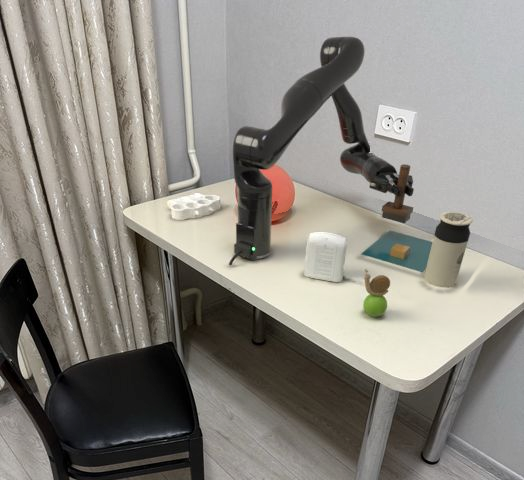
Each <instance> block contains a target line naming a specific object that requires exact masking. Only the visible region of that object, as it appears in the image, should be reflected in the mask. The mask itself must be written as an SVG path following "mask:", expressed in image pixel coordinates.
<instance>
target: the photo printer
mask: <svg viewBox="0 0 524 480" xmlns="http://www.w3.org/2000/svg"><path fill="white" fill-rule="evenodd" d="M347 250H348V243H347V238H345V237H344V236H342V235H340V234H336V233H333V232H327V231H316V232H315V231H314V232H310V233H309V235H308V237H307V239H306V250H305V259H304V270H303V274H304V276H305V277H307V278H311V279H317V280H321V281H327V282H332V283H341V282H342V280H343V277H344V271H345V264H346V256H347Z"/></svg>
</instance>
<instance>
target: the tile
mask: <svg viewBox="0 0 524 480" xmlns="http://www.w3.org/2000/svg"><path fill="white" fill-rule="evenodd" d="M432 242H433V241H431V240H427V239H424V238H419V237H416V236H412V235H408V234H405V233H402V232H397V231H393V230H390V229H389V230H388V231H386V233H384V234H383V235H382V236H381V237H379V238H378V239H377V240H376V241H374V242H373V243H372V244H370V246H369V247H367V248H366V249H365V250H364V251H363V252H362V253H361V255H363V256H366V257H369V258H371V259H376V260H379V261H382V262H386V263H390V264H392V265H395V266H399V267H402V268H406V269H409V270H412V271H416V272H420V273H425V271H426V267H427V263H428V259H429V255H430V251H431V246H432ZM396 244H401V245H405V246H408V247H410V251H409V254H408V255H407V256H406V257H405V258H404V259H400V258H397V257H394V256H390V253H391V248H392V247H393V246H395V245H396Z"/></svg>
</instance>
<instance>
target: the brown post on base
mask: <svg viewBox="0 0 524 480" xmlns="http://www.w3.org/2000/svg"><path fill="white" fill-rule="evenodd" d="M410 171H411V165H410V164H401V165H400V167H399V173H398V175H399V178H398V183H397V186H399V187H400V188H401V189H402V190H403V192H402V196H401V197H398V196H396V195H394V199H393V201H394V202H393V201H390V200H389V201H387V202H386V203H384V204H383V205H382V207H381V212H382V215H381V218H382V219H386V220H390V221H394V222H398V223H401V224H406V223H407V222H409V220H410V219H411V215H412V213H413V212H414V207H413V206H411V205H410V206H409V205H405V204H404V201H405V198H406V197H405V196H406V194H405V192H406V187H407V182H408V177H409V175H410Z"/></svg>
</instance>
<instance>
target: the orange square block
mask: <svg viewBox="0 0 524 480" xmlns="http://www.w3.org/2000/svg"><path fill="white" fill-rule="evenodd" d="M409 251H410V247H408V246H405V245H401V244H396V245H395V246H393V247H392V248H391V253H390V256H394V257H397V258H400V259H404V258H405V257H406V256H407V255H408V254H409Z"/></svg>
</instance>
